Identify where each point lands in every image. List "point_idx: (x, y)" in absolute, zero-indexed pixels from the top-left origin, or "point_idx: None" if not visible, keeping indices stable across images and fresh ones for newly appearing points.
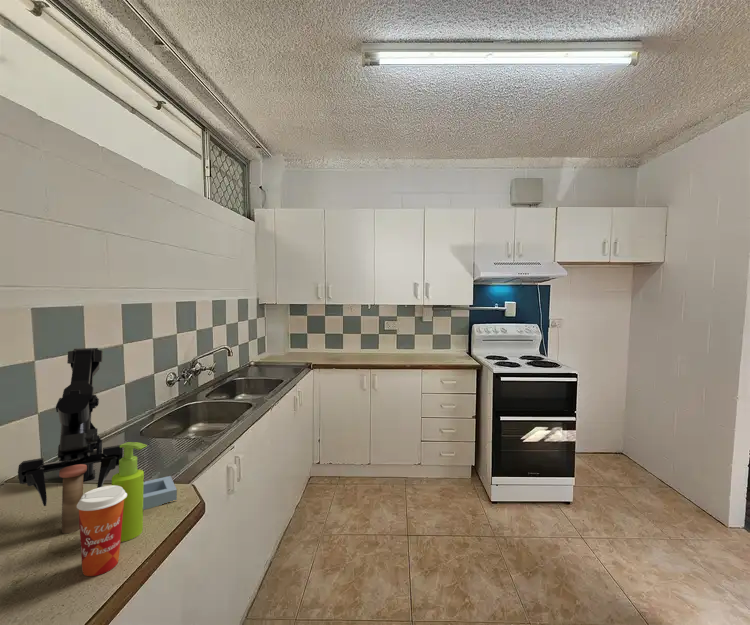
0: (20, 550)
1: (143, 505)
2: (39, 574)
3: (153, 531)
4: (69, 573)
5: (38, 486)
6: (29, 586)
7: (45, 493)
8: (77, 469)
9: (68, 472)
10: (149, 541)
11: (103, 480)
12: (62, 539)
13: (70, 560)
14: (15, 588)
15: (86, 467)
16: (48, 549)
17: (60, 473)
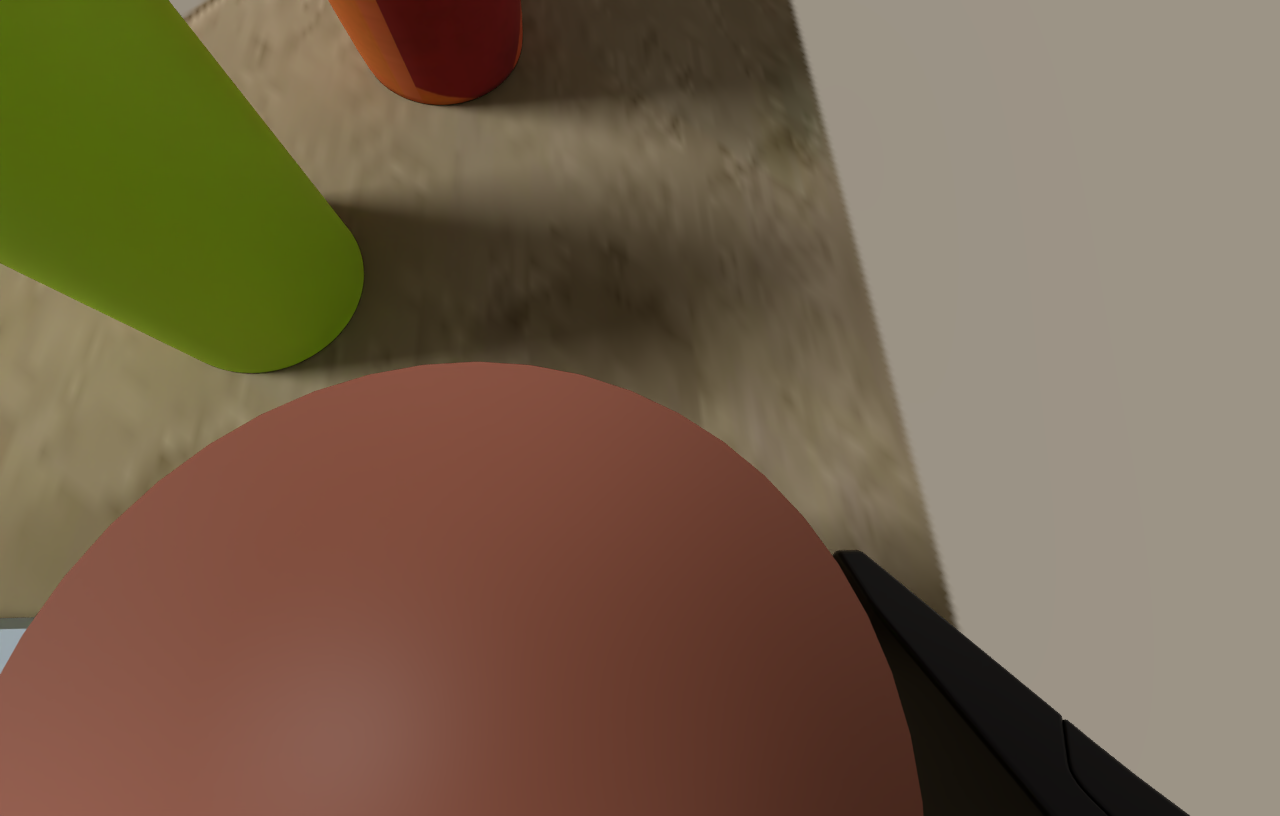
0: (850, 474)
1: (13, 622)
2: (705, 143)
3: None
4: (577, 69)
5: (1129, 779)
6: (731, 72)
7: (914, 644)
8: (321, 582)
9: (605, 426)
10: None
11: None
12: None
13: (577, 181)
14: (785, 92)
15: (6, 723)
16: (697, 381)
17: (838, 587)
